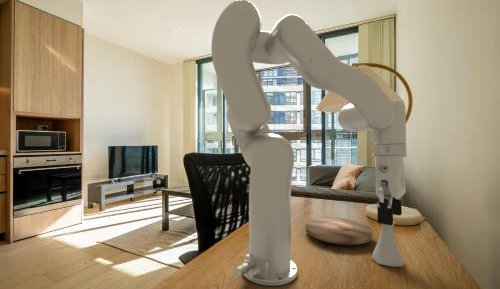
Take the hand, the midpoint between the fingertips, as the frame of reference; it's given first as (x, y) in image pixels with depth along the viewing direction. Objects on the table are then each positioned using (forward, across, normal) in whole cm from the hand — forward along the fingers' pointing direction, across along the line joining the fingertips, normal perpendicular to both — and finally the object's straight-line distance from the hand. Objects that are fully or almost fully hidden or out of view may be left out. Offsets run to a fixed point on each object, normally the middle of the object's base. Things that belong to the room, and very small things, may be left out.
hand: (390, 218), depth 64 cm
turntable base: (+10, +7, +17) cm, 21 cm away
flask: (+11, -1, +1) cm, 11 cm away
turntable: (+9, +7, +17) cm, 20 cm away
